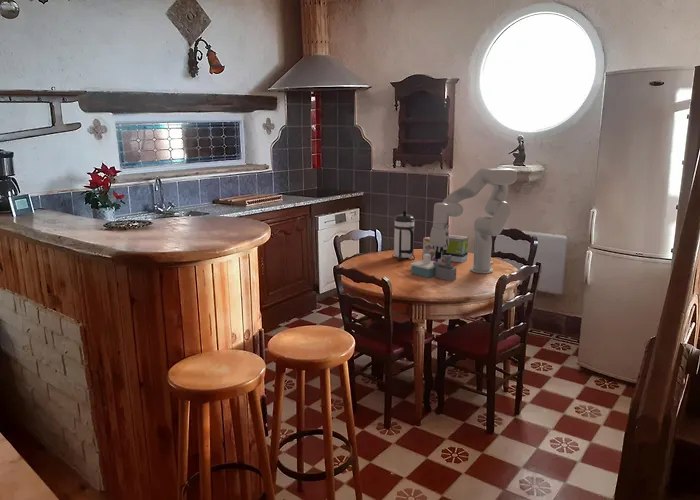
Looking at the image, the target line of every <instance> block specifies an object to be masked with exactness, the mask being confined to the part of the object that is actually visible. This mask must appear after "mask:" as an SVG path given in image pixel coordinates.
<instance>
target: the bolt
mask: <svg viewBox="0 0 700 500" xmlns="http://www.w3.org/2000/svg"><path fill="white" fill-rule="evenodd" d="M451 257H452V255H447V256H444V259H445V260H444V263H443V262H442V263H439V262H433V265H437V266H441V267H446V268H450V269H452V268H455V267H454V265H453V264H451V263H452V261H451Z"/></svg>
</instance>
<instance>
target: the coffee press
mask: <svg viewBox="0 0 700 500" xmlns="http://www.w3.org/2000/svg"><path fill="white" fill-rule="evenodd" d="M393 221H394V224H393V227H394V228H393V229H394V233H393V234H394V236H393V242H394V243H393V246H394V247H393V254H392V255H391V256H392V258H395V257H396V258H397V261H398V262H399V261H402V259H407V258H409V259H412V260H415V259H416V257H415V255H414V249H415V248H414V247H415V246H414V244H415V243H414V242H415V221H416V219H415V218H414V216H413V215H412V214H407V211H406V210H402V213H401V214H397V215H395V217H394V218H393Z"/></svg>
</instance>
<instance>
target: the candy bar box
mask: <svg viewBox="0 0 700 500" xmlns="http://www.w3.org/2000/svg"><path fill="white" fill-rule="evenodd" d="M424 254H430V255H431V261H435V262H439V263H443V260H442V252H441V259H435V251H434V248H433V247H431V246H430V236H427V237H426V236H425V237H423V239H422V255H421V256H422V259H421V260H423V255H424Z"/></svg>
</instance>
